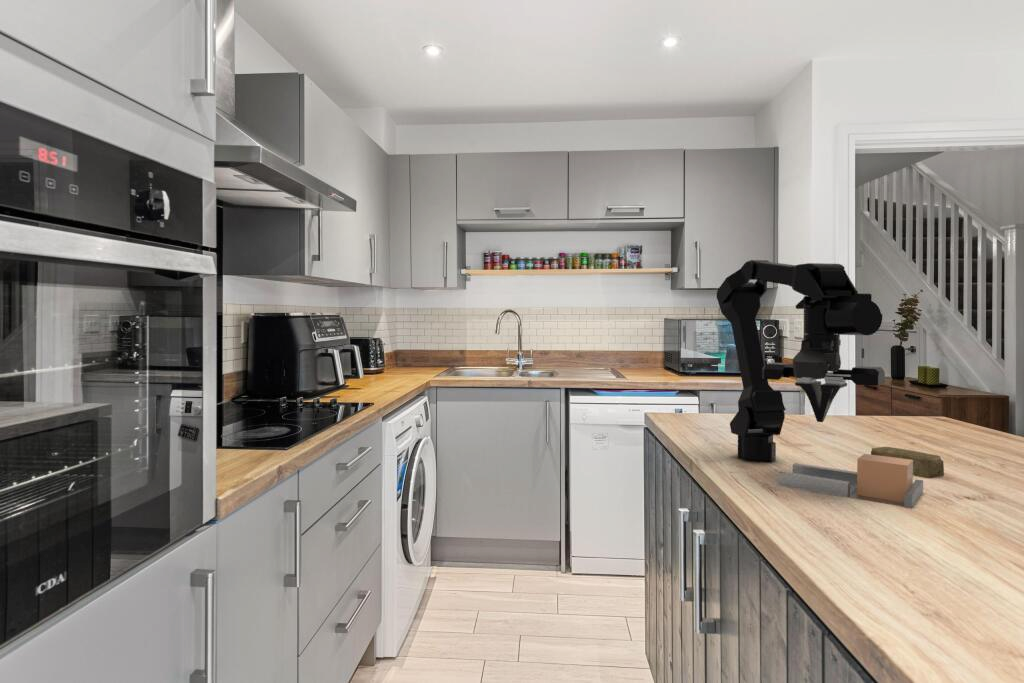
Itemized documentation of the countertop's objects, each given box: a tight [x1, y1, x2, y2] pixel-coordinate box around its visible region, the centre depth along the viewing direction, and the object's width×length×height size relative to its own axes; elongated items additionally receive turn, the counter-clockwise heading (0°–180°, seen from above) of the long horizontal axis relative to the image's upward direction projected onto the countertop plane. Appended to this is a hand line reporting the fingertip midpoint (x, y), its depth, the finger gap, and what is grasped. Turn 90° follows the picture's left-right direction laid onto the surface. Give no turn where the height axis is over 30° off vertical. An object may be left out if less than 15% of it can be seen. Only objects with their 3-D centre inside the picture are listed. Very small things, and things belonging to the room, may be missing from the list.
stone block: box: [870, 446, 945, 479], centre depth 114 cm, size 6×12×5 cm, turn 30°
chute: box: [776, 462, 924, 509], centre depth 102 cm, size 20×11×3 cm, turn 48°
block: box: [856, 453, 914, 503], centre depth 98 cm, size 7×5×6 cm
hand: (820, 421), depth 106 cm, fingers closed
